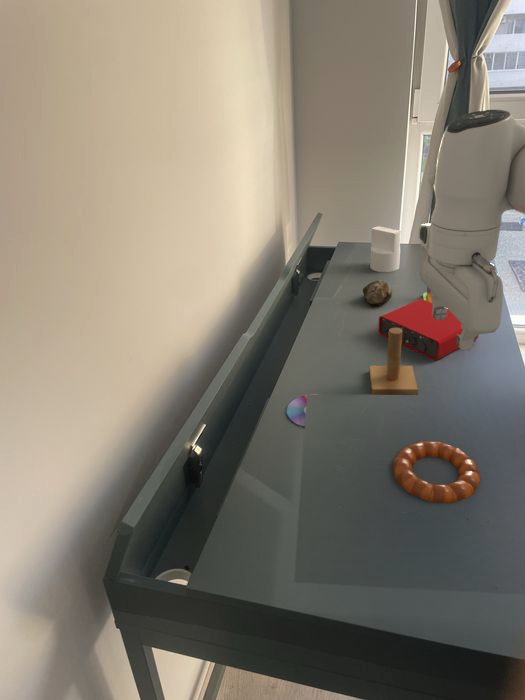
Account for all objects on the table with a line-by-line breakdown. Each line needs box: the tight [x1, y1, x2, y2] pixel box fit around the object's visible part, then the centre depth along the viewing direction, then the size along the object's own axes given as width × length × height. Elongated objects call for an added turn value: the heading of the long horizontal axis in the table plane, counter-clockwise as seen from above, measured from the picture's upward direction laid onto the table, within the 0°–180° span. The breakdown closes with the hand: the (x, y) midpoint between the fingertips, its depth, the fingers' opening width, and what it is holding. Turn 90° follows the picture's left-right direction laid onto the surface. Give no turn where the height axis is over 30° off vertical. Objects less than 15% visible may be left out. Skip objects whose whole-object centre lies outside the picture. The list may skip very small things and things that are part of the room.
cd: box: [286, 393, 323, 428], centre depth 104 cm, size 11×11×1 cm
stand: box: [368, 328, 419, 396], centre depth 108 cm, size 9×9×12 cm
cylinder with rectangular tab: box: [369, 225, 402, 273], centre depth 164 cm, size 9×9×12 cm
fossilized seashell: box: [362, 279, 393, 306], centre depth 145 cm, size 8×7×10 cm
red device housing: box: [378, 298, 479, 361], centre depth 125 cm, size 18×14×5 cm
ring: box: [392, 441, 481, 504], centre depth 85 cm, size 13×13×3 cm
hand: (450, 332), depth 78 cm, fingers open, 8 cm apart
